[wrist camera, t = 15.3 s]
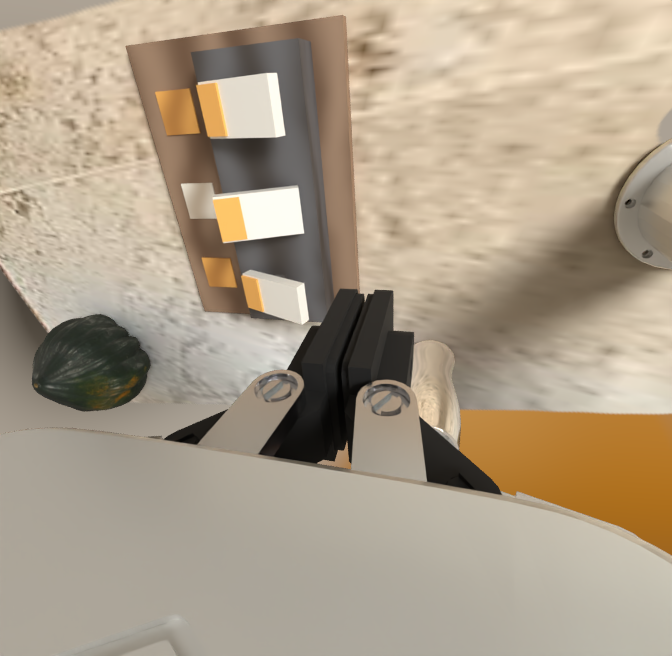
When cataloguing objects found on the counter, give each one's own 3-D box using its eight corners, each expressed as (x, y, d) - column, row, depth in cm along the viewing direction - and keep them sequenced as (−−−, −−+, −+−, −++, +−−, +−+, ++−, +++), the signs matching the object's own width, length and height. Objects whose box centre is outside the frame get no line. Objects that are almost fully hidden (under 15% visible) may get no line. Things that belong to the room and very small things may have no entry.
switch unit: (345, 16, 33) (328, 6, 28) (360, 315, 49) (351, 341, 44) (133, 46, 38) (88, 41, 34) (209, 306, 54) (185, 328, 49)
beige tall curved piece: (441, 387, 52) (438, 481, 40) (394, 365, 52) (378, 453, 40) (469, 351, 48) (476, 444, 36) (418, 328, 48) (408, 412, 36)
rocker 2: (297, 185, 37) (298, 188, 36) (303, 229, 39) (304, 234, 38) (214, 194, 36) (212, 197, 35) (224, 239, 38) (223, 244, 37)
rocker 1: (276, 72, 30) (264, 73, 29) (285, 135, 32) (273, 137, 31) (208, 81, 34) (195, 82, 33) (220, 137, 36) (208, 139, 35)
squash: (130, 421, 65) (79, 440, 50) (53, 376, 64) (-22, 382, 49) (177, 349, 66) (140, 347, 52) (102, 305, 66) (43, 290, 51)
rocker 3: (304, 283, 39) (294, 288, 38) (308, 319, 41) (300, 326, 40) (250, 269, 43) (240, 274, 42) (257, 303, 46) (248, 309, 45)
